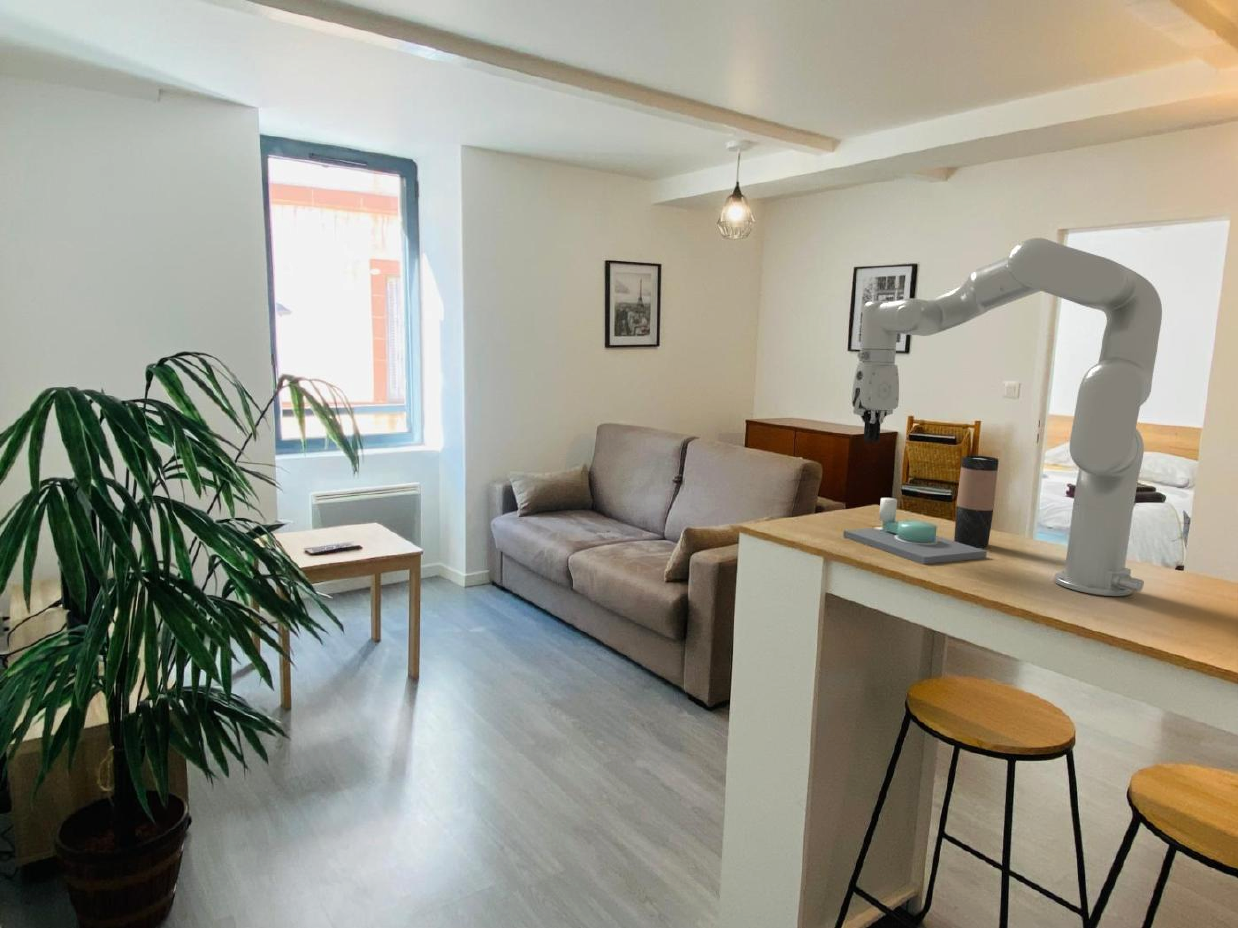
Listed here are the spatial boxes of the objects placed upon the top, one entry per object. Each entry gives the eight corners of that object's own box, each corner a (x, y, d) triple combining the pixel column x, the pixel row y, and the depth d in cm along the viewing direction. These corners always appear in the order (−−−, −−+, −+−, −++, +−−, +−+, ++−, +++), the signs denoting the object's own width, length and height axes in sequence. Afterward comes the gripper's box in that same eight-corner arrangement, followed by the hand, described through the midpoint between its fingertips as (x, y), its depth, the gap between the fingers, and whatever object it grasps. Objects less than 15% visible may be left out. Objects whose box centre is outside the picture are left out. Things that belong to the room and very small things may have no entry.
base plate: (986, 557, 166) (986, 549, 166) (923, 564, 158) (924, 556, 158) (901, 532, 187) (902, 525, 187) (843, 536, 180) (843, 529, 179)
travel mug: (995, 549, 174) (1005, 460, 171) (960, 547, 174) (970, 459, 171) (980, 540, 181) (989, 456, 179) (947, 539, 182) (956, 454, 179)
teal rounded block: (943, 540, 171) (946, 509, 170) (916, 543, 168) (919, 511, 167) (893, 525, 184) (896, 496, 183) (867, 528, 181) (870, 498, 180)
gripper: (864, 357, 165) (858, 443, 167) (914, 359, 172) (908, 442, 174) (839, 357, 172) (834, 440, 174) (889, 358, 178) (883, 438, 181)
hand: (871, 440), depth 174 cm, fingers closed
